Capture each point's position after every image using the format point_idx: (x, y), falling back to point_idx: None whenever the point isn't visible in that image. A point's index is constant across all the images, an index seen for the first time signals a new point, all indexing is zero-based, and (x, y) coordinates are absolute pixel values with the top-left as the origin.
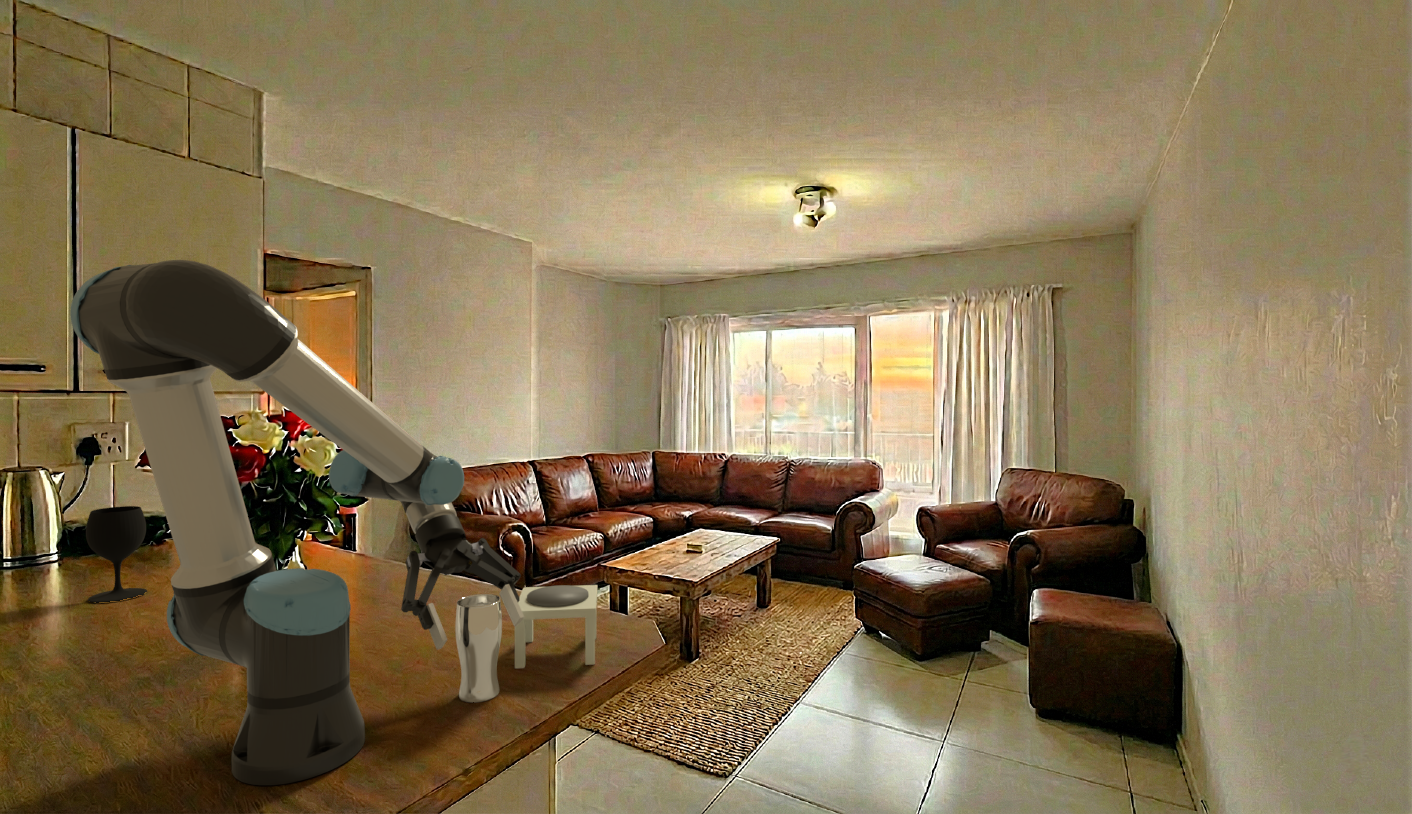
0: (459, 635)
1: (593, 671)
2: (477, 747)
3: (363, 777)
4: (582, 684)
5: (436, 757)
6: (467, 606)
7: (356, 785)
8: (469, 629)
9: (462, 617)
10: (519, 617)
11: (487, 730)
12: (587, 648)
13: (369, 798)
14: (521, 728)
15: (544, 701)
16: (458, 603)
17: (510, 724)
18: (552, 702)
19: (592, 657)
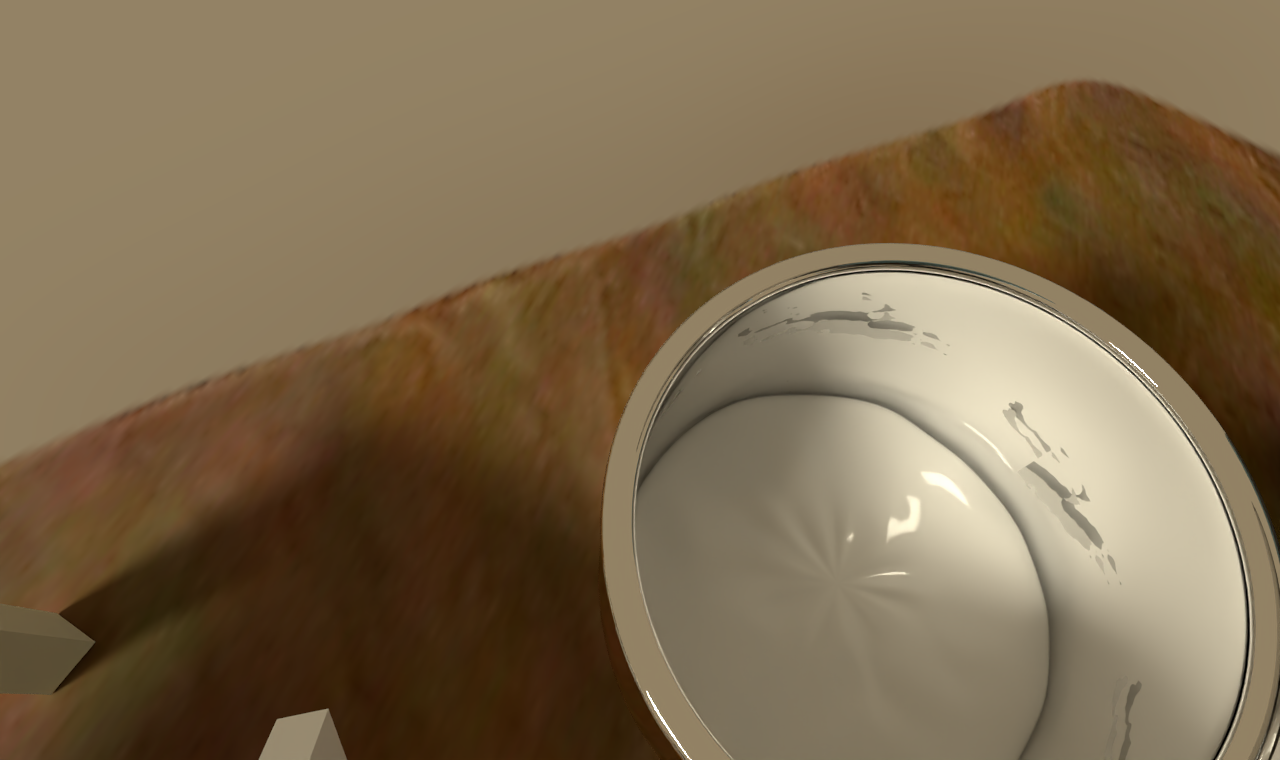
0: (1026, 534)
1: (134, 532)
2: (867, 208)
3: (1243, 242)
4: (283, 428)
5: (1007, 225)
6: (1130, 336)
7: (1258, 213)
8: (975, 414)
9: (1103, 444)
10: (327, 732)
11: None
12: (5, 626)
13: (1207, 136)
14: (691, 236)
15: (515, 376)
16: (1265, 545)
17: (715, 283)
18: (493, 349)
19: (33, 613)
